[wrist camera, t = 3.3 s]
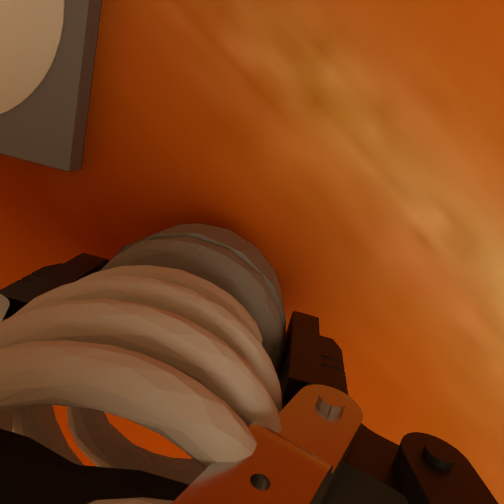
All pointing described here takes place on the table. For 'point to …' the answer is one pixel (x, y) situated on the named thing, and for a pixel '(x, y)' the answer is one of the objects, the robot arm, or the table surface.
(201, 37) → the table surface
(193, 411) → the light bulb
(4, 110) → the pad
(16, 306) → the robot arm
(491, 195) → the table surface
